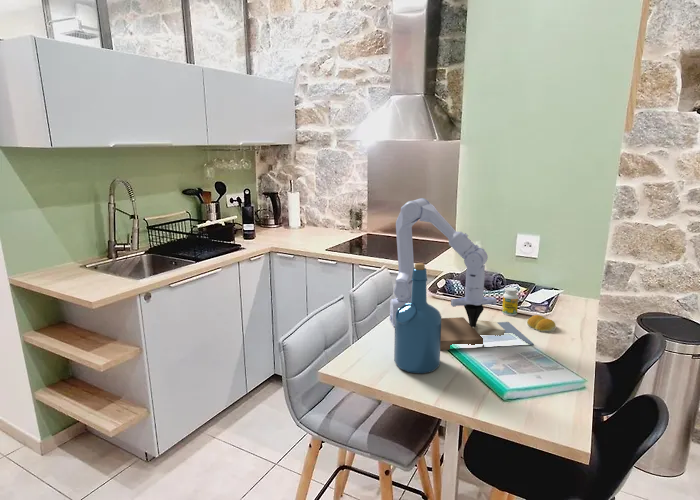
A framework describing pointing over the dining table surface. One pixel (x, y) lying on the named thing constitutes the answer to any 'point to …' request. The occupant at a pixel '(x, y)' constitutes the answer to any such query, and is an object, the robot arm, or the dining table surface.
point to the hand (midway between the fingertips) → (472, 325)
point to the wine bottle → (418, 329)
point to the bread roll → (541, 323)
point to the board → (458, 333)
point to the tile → (488, 328)
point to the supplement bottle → (510, 302)
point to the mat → (514, 331)
